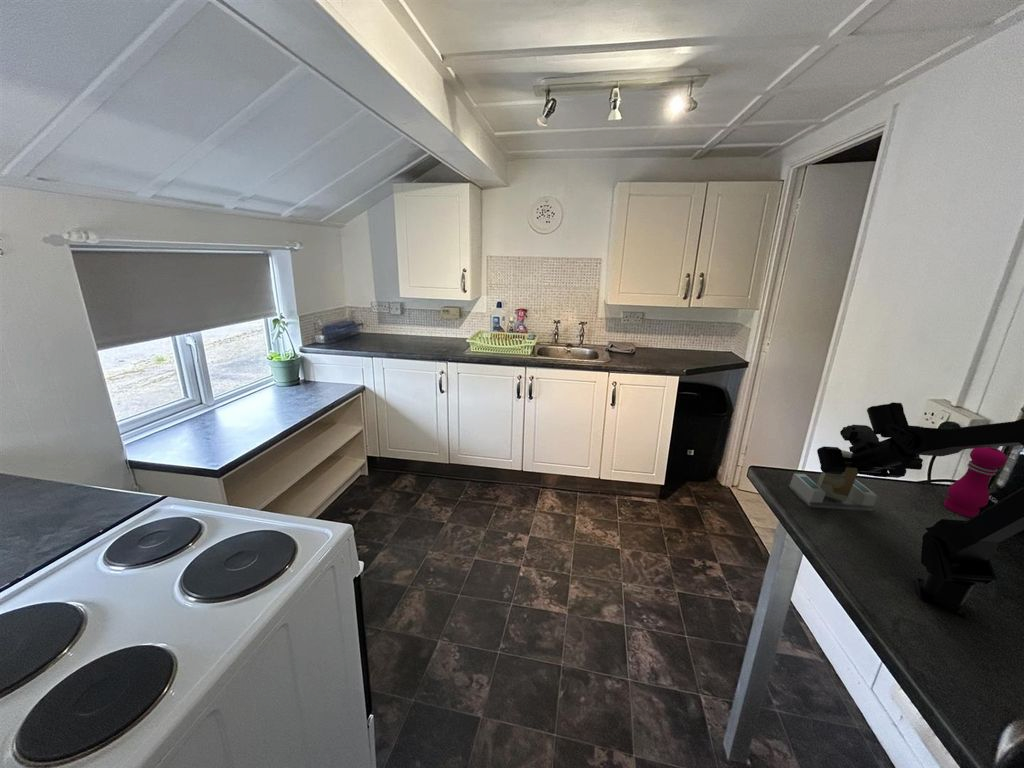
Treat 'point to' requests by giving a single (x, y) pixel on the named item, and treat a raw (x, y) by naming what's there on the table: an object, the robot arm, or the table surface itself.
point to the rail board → (835, 503)
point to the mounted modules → (816, 494)
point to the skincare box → (838, 481)
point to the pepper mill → (975, 482)
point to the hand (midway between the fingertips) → (835, 469)
